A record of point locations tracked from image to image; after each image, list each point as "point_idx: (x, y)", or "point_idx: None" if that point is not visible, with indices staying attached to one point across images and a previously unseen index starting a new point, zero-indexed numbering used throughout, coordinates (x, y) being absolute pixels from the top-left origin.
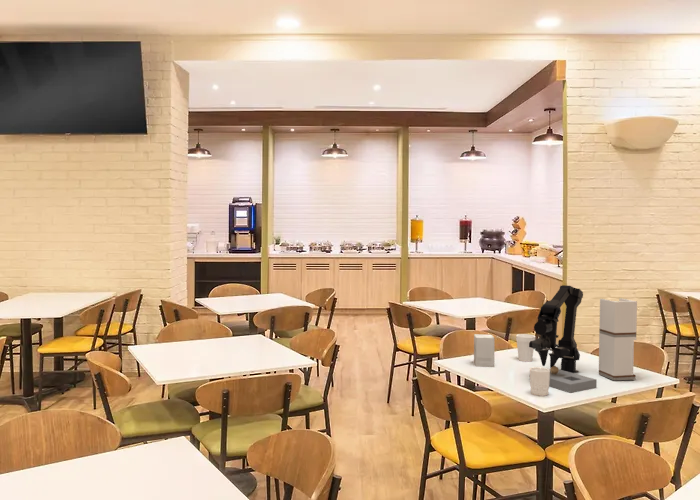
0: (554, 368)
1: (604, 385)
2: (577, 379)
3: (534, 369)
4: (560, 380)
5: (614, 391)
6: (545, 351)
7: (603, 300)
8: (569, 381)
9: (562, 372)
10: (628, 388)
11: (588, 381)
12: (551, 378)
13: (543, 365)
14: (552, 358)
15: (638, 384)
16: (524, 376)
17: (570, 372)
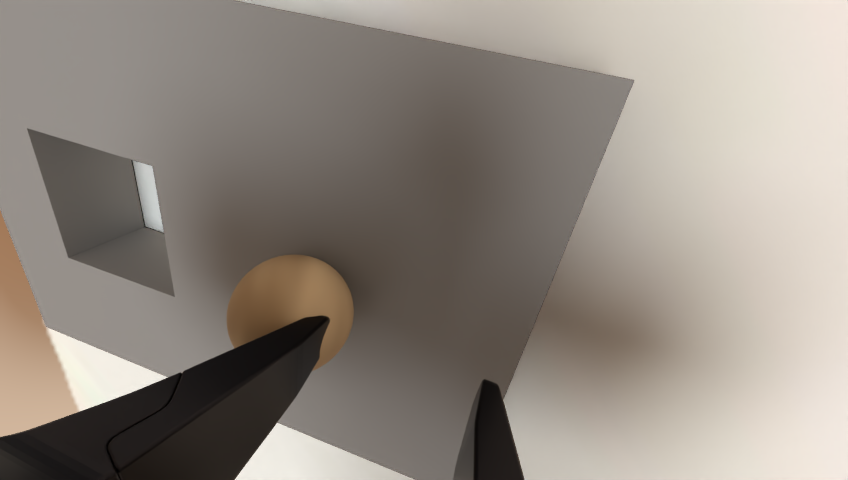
0: (239, 293)
1: (145, 368)
2: (123, 266)
3: None
4: (57, 15)
5: None
6: None
7: None
8: (7, 69)
9: (316, 386)
10: (72, 379)
11: (17, 239)
12: (167, 7)
13: (479, 387)
14: (61, 423)
15: None
16: (776, 221)
17: (279, 421)
